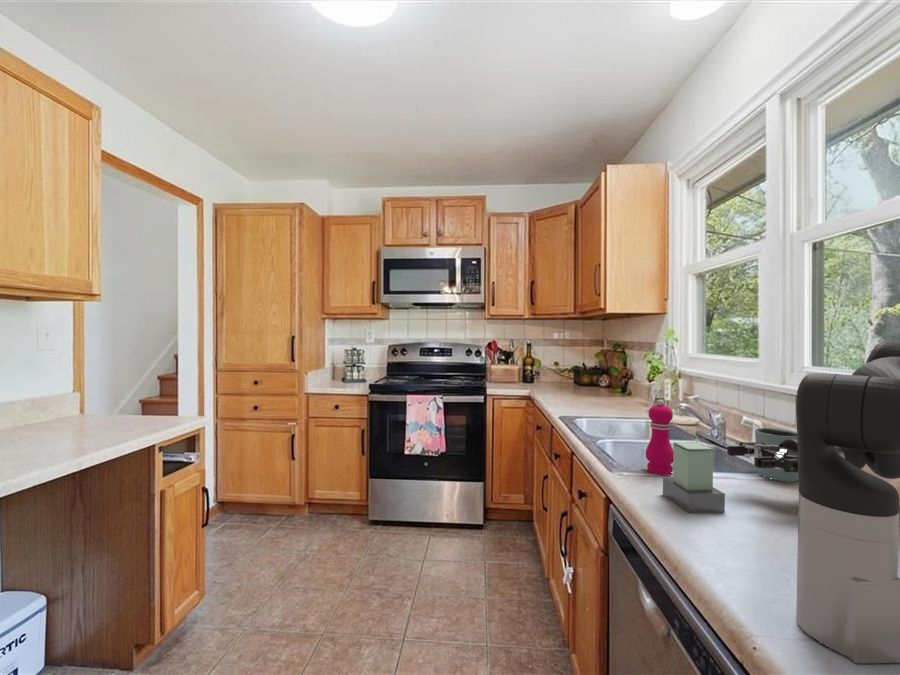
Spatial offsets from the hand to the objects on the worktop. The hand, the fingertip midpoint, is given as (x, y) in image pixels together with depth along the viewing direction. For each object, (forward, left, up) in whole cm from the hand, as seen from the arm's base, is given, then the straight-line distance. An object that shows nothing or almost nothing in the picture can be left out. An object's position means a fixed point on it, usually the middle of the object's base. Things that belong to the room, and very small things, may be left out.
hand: (741, 456), depth 95 cm
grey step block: (0, +11, -10) cm, 16 cm away
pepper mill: (+21, +7, -11) cm, 25 cm away
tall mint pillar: (0, +11, -6) cm, 13 cm away
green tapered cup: (+17, -23, -11) cm, 30 cm away
